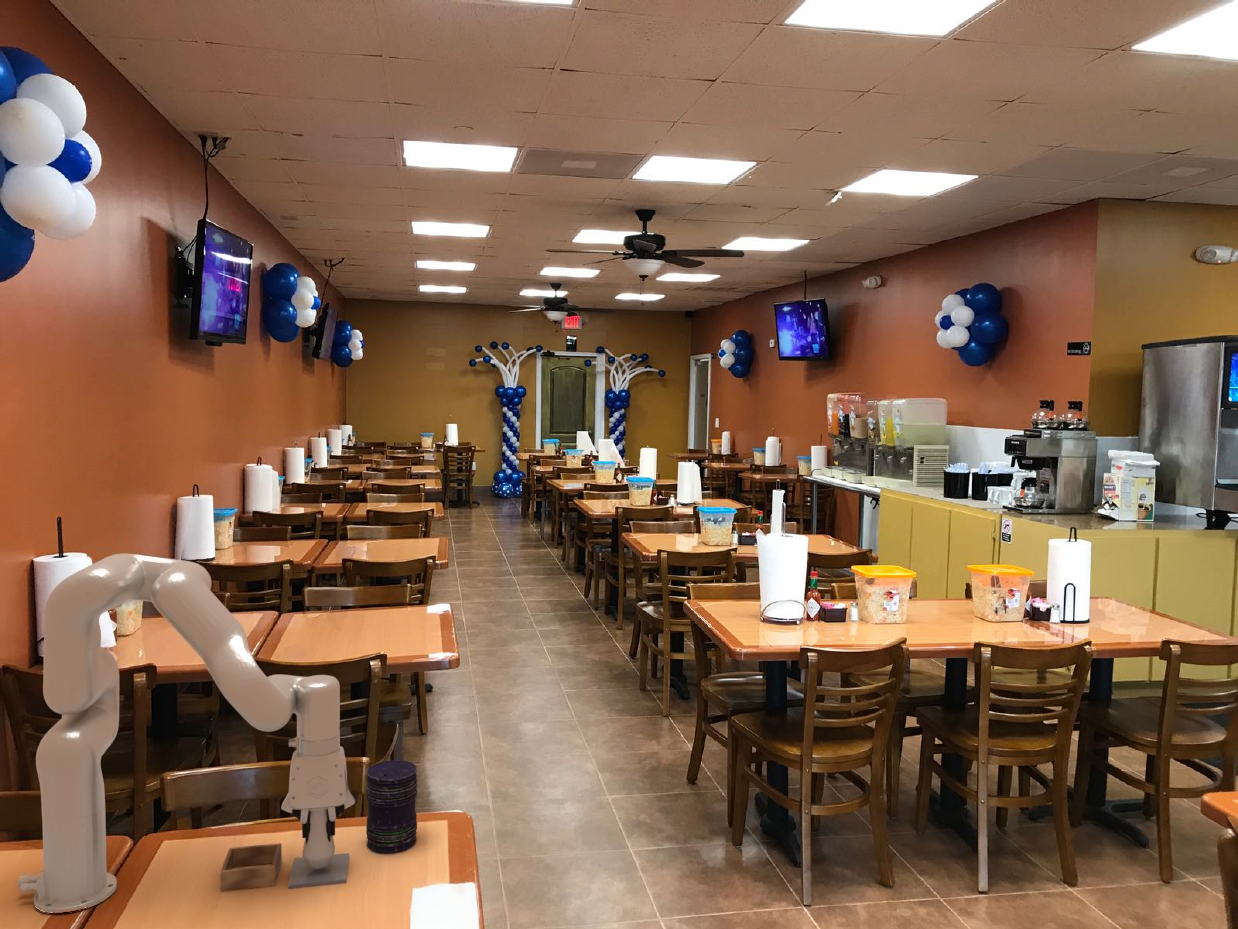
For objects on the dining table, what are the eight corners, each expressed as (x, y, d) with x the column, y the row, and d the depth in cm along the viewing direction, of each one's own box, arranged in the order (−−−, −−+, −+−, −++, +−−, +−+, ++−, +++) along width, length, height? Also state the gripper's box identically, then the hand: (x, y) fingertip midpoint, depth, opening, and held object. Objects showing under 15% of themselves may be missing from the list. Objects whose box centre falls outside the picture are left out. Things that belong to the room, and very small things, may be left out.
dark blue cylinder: (380, 828, 188) (380, 758, 187) (425, 834, 186) (425, 762, 185) (357, 851, 179) (356, 777, 178) (403, 857, 177) (404, 782, 176)
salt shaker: (324, 873, 167) (324, 804, 166) (296, 869, 168) (296, 801, 167) (340, 857, 173) (340, 791, 172) (313, 854, 174) (312, 787, 173)
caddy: (220, 891, 163) (220, 872, 163) (229, 865, 172) (229, 847, 172) (275, 886, 166) (274, 867, 165) (281, 861, 174) (281, 843, 174)
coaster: (288, 888, 165) (288, 885, 165) (294, 861, 174) (294, 858, 174) (345, 882, 167) (345, 879, 167) (348, 856, 177) (348, 853, 177)
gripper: (268, 754, 163) (269, 854, 165) (363, 748, 167) (363, 845, 169) (274, 739, 171) (275, 834, 172) (365, 733, 175) (365, 827, 176)
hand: (318, 839), depth 170 cm, fingers closed on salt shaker, 3 cm apart
